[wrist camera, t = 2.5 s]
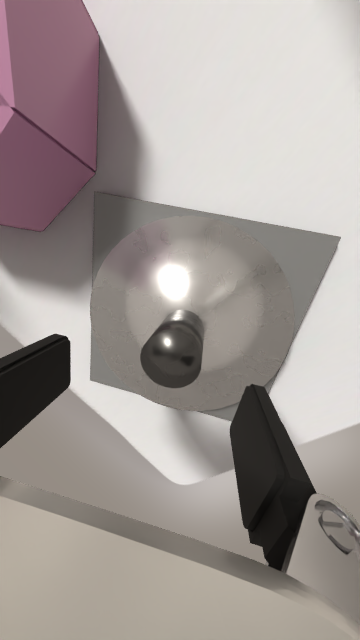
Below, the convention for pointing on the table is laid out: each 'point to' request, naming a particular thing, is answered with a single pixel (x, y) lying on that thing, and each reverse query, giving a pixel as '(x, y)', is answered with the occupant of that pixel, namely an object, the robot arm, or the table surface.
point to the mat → (281, 242)
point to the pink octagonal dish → (46, 108)
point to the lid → (192, 312)
